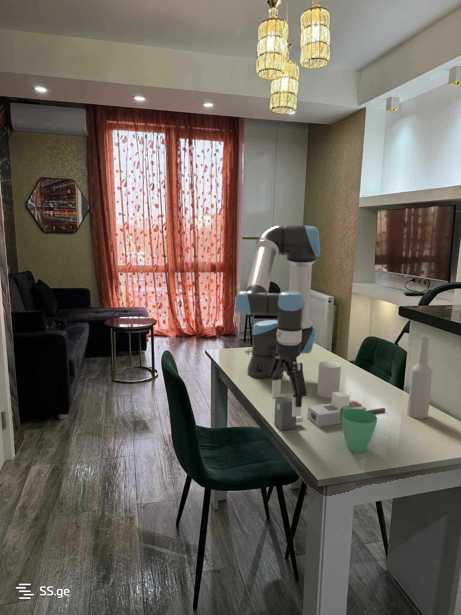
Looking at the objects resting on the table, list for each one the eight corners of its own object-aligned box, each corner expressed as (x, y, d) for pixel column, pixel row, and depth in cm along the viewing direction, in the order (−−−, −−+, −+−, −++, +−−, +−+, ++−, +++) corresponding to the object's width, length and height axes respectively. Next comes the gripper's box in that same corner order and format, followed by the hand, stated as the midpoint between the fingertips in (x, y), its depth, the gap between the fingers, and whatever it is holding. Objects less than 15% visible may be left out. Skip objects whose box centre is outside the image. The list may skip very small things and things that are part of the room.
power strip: (307, 417, 142) (308, 404, 141) (378, 407, 152) (379, 395, 151) (318, 426, 136) (319, 413, 135) (391, 415, 146) (393, 402, 145)
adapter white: (331, 405, 143) (332, 392, 142) (341, 403, 144) (342, 391, 143) (338, 409, 139) (339, 396, 138) (348, 408, 140) (349, 395, 140)
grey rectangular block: (273, 423, 136) (274, 397, 135) (296, 420, 139) (298, 394, 138) (281, 430, 132) (282, 403, 130) (304, 427, 135) (305, 400, 133)
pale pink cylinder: (339, 399, 159) (341, 368, 157) (317, 397, 161) (319, 366, 159) (338, 391, 167) (340, 362, 165) (317, 389, 169) (319, 360, 167)
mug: (381, 455, 118) (384, 422, 117) (348, 458, 116) (351, 424, 115) (355, 431, 133) (358, 401, 131) (326, 433, 131) (328, 403, 129)
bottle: (407, 409, 151) (415, 332, 146) (428, 413, 148) (436, 335, 143) (406, 416, 145) (414, 336, 140) (427, 420, 142) (436, 339, 137)
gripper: (260, 333, 141) (258, 393, 145) (298, 354, 118) (294, 425, 122) (281, 331, 143) (278, 391, 147) (321, 352, 120) (317, 422, 124)
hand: (285, 406), depth 134 cm, fingers open, 13 cm apart
